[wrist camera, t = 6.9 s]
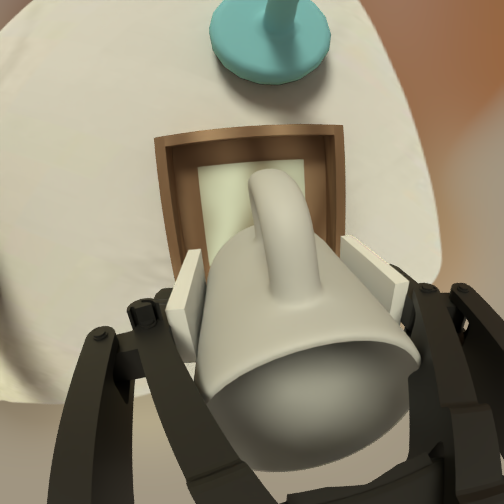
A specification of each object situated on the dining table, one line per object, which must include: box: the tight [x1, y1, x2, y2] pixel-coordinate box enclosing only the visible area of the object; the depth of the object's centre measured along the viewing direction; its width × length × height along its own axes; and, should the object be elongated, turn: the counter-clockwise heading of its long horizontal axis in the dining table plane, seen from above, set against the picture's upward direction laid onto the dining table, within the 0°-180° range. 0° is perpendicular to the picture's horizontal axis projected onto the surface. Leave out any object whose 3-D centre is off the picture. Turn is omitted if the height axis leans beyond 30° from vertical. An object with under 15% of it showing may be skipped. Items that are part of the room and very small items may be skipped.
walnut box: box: [154, 124, 345, 285], centre depth 28 cm, size 18×18×4 cm
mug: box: [194, 169, 421, 472], centre depth 12 cm, size 12×8×11 cm
